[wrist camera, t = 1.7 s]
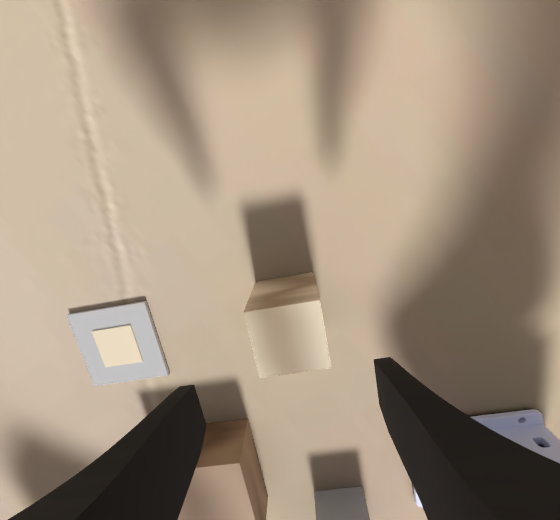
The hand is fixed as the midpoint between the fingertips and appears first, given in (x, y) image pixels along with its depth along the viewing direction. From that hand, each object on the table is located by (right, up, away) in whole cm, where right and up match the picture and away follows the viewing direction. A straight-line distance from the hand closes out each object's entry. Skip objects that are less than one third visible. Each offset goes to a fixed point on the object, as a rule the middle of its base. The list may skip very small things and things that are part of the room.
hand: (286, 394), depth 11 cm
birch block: (0, +2, +9) cm, 9 cm away
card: (-12, -1, +10) cm, 16 cm away
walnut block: (-6, -12, +13) cm, 18 cm away
